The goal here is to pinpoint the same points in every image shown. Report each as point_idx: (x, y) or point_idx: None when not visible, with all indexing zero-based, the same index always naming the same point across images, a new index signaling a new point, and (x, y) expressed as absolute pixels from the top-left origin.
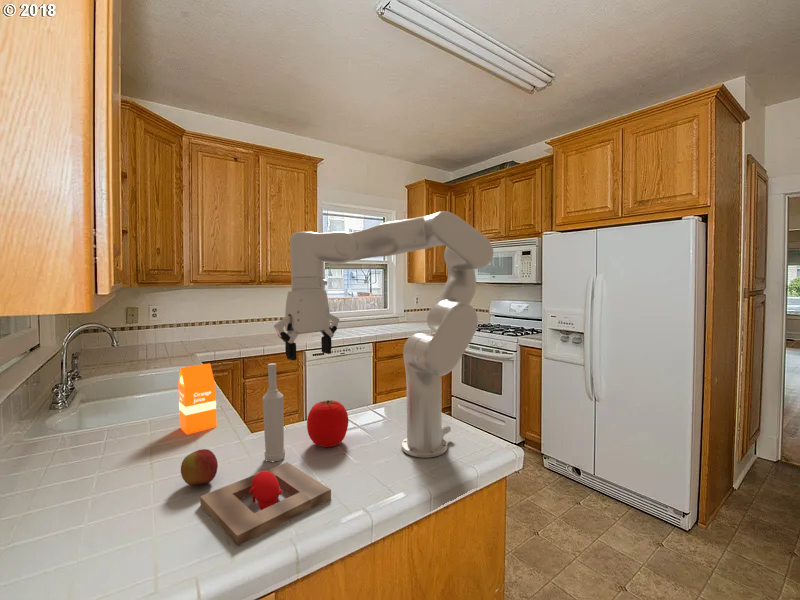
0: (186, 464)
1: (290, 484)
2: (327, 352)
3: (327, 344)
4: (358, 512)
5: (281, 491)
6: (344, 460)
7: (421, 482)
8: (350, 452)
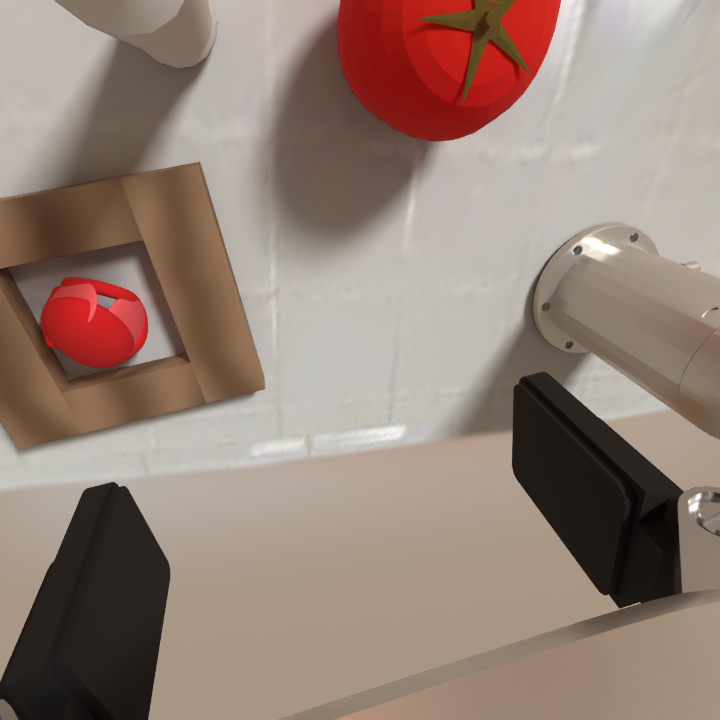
0: None
1: (174, 316)
2: (516, 466)
3: (563, 527)
4: (293, 443)
5: (140, 348)
6: (384, 218)
7: (458, 416)
8: (428, 177)
